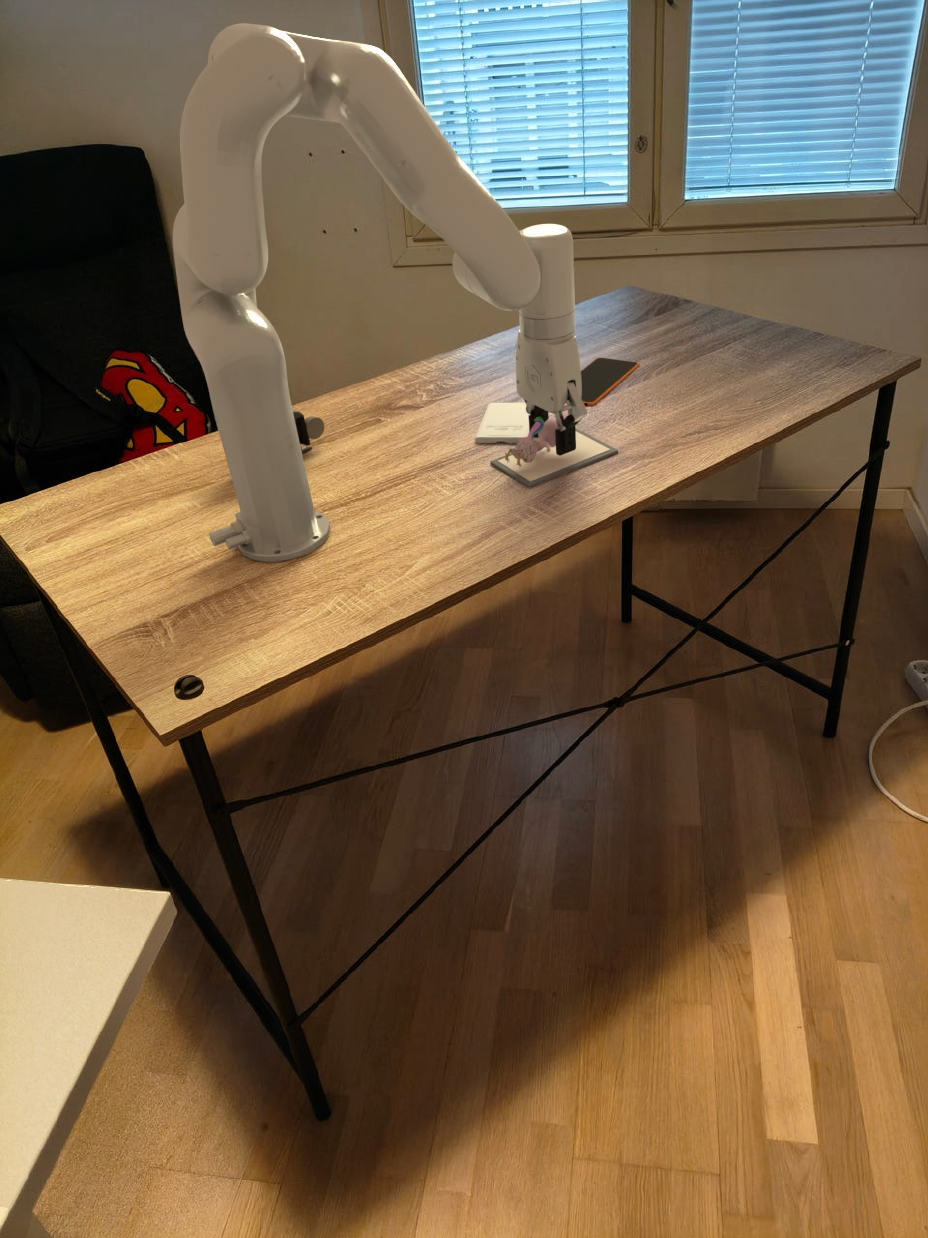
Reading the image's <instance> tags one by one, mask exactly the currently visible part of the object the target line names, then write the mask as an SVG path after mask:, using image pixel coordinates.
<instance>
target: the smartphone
mask: <svg viewBox="0 0 928 1238" xmlns="http://www.w3.org/2000/svg"><path fill="white" fill-rule="evenodd" d="M638 366H640V363H639V362H637V361H632V360H625V359H624V360H622V359H614V358H608V357H607V358H606V357H596V358H595V359H594V360H593V361H591V362H590V363H589V364H587V365H586V366H585V367H584V368H583V369H581V382H582V396H581V399H582V401H583V403H584V405H585V406H586V405H587V407H593V406H595V405H597V404H598V403H599V402H600V401H601V400H603V399H604V397H606V396H607V395H608V394H609V393H610V392H612V390H614V389H615V388H616V387H617V386H618V385H620V384H621V383H622V382H623V381H624V380H625V379H626V378H627V377H629V376H630V375H631V374H632V373H633V372H634V371H636V369H638V368H639V367H638ZM637 367H638V368H637ZM629 374H630V375H629Z"/></svg>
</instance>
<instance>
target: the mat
mask: <svg viewBox="0 0 928 1238" xmlns="http://www.w3.org/2000/svg"><path fill="white" fill-rule="evenodd" d="M546 449H547V448H546V447H544V448H543V449H542V450H541V451H538V452H537V453H536V456H535V458H534V460H533V461H532V462H530V463H526V462H524V461H523V460H522V459H521V460H520V464H521V466H519V465H516V464H517V459H516V458H515V457H514V456H513V454H512V453H510V454H509V456H508V459H509V461H510V462H509V461H508V463H507V460H506V459H505V455H503V456H501V457H497V458H495V459H492V460H490V461H489V462H490V464H491V466H494V467H495V468H497V469H498V470H500V471H502V472H503V473H505V474H507V475H508V476H510V477H511V478H513V479H514V480H515V481H517V482H518V483H520V484H522V485H523V486H526V487H527V488H529V489H530V488H533V487H535V486H538V485H541V484H543V483H545V482H547V481H550V480H553V479H555V478H558V477H560V476H562V475H565V474H568V473H569V472H573V471H575V470H578V469H580V468H582V467H583V468H584V467H587V465H590V464H593V463H595V462H598V461H600V460H603V459H605V458H607V457H610V456H613V455H615V454H619V449H617V448H615V447H613V446H611V445H609V444H607V443H606V442H603V441H601V440H600V439H598V438H596V437H594V436H592V435H590V434H589V433H587V432H585V431H582V430H581V429H579V428H576V449H575V450H574V451H571V452H568V453H566V454H563V455H561V456H559V455H557V454H556V446H555V447H550V452H547V450H546ZM505 460H506V461H505ZM519 467H520V469H519Z"/></svg>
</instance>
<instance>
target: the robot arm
mask: <svg viewBox="0 0 928 1238" xmlns="http://www.w3.org/2000/svg"><path fill="white" fill-rule="evenodd" d="M284 116H287V117H291V118H292V117H294V118H300V119H309V120H315V121H323V122H332V123H338V124H340V125H341V126H343V127H344V128H345V130H346V131H347V132H348V134H349V135H350V137H351V138H352V139H353V140H354V142H355V143H356V145H357V146H358V148H359V149H360V150H361V151H362V152H363V153H364V155H365V156H366V157H367V158H368V161H370V162H371V164H372V166H373V167H374V168H375V170H376V171H377V172H378V173H379V175H380V176H381V178H382V179H383V181H384V182H385V183H386V185H387V187H389V189H390V190H391V192H392V193H393V194H394V195H395V197H396V198H397V200H398V201H399V202H400V203H401V204H402V205H403V206H404V208H405V209H407V210H408V211H409V213H411V214H412V215H413V216H414V217H415V218H416V219H418V220H419V221H420V222H421V223H423V224H424V225H426V226H427V227H429V229H430V230H432V231H433V232H434V233H436V234H437V235H438V236H439V237H440V238H441V239H442V240H443V241H445V243H446V244H447V245H448V246H449V247H450V248H451V249H452V250H453V251H454V253H453V256H452V257H453V258H452V270H453V273H454V277H455V278H456V280H457V281H458V283H459V285H461V286H462V287H463V288H464V289H465V290H467V291H468V292H470V293H472V294H473V295H475V296H477V297H478V298H481V299H482V300H484V301H486V302H487V303H489V304H490V305H491V306H493V307H496V308H497V309H499V310H502V311H506V312H507V311H508V312H513V311H518V317H519V329H518V333H517V338H516V348H515V349H516V350H515V381H516V382H515V385H516V392H517V394H518V396H519V397H520V398H522V399H523V401H524V403H526V412H527V413H528V414H530V415H528V416H529V433H530V430H531V428H532V427H533V425H534V424H535V422H536V421H534V419H535V418H537V417H541V418H542V419H543V421H544V422H545V421H547V420H548V419H550V418H549V416H550V415H549V413H550V414H554V417H555V418H556V422H557V426H558V429H556V430H555V440H556V454H557V455H559V456H561V455H563V454H566V453H568V452H571V451H574V450H575V449H576V427H577V426H579V423H580V422H581V421H582V419H584V418H585V417H586V416H585V415H586V414H587V413H588V410H587V407H586V404H585V405H584V403H583V401H582V399H581V396H582V382H581V370H582V369H581V360H580V352H579V347H578V341H577V337H576V335H575V334H576V300H575V297H576V296H575V267H574V265H575V264H574V261H575V259H574V239H573V234H572V232H571V231H570V229H569V228H567V227H566V226H564V225H561V224H557V223H541V224H535V225H531V226H528V227H524V228H523V229H521V230H519V228H518V227H517V226H516V225H515V223H514V222H513V220H512V219H511V217H510V216H509V215H508V213H507V212H506V211H505V210H504V209H503V207H502V205H501V204H500V203H499V202H498V201H497V199H495V197H494V196H493V195H492V194H491V192H489V191H488V190H487V188H486V187H485V185H483V184H482V182H481V181H480V180H479V178H477V176H476V175H475V173H474V172H473V171H472V170H471V168H470V167H469V166H468V165H467V164H466V163H465V162H464V161H463V160H462V159H461V157H459V155H458V154H457V152H456V150H454V148H453V146H452V145H451V144H450V142H449V141H448V139H447V138H446V137H445V135H444V134H443V132H442V131H441V129H440V128H439V126H438V124H437V123H436V122H435V120H434V119H433V117H432V116H431V114H430V113H429V112H428V110H427V107H425V105H424V104H423V102H422V101H421V99H420V98H419V96H418V95H417V93H416V91H415V90H414V88H413V87H412V86H411V84H410V82H409V81H408V80H407V78H406V77H405V75H404V73H402V70H401V69H400V67H398V66H397V64H396V63H395V62H394V60H393V59H392V57H390V56H389V55H388V54H387V53H386V52H384V51H383V50H382V49H381V48H379V47H378V46H377V47H376V46H373V45H370V44H366V43H360V42H352V41H344V40H337V39H328V38H322V37H321V38H320V37H314V36H310V35H309V36H308V35H305V34H304V35H303V34H298V33H294V32H289V31H283V30H279V29H277V28H275V27H272V26H269V25H263V24H254V23H253V24H252V23H243V22H241V23H236V24H232V25H229V26H226V28H225V27H224V29H223V30H221V31H220V32H218V34H217V35H216V36H215V37H214V38H213V41H212V43H211V45H210V47H209V51H208V57H207V65H206V66H205V67H204V68H203V70H202V71H201V73H200V74H199V75H198V78H197V79H196V80H195V82H194V84H193V86H192V88H191V90H190V92H189V93H188V96H187V99H186V101H185V104H184V108H183V111H182V115H181V120H180V121H181V122H180V130H179V151H180V153H179V155H180V164H181V165H180V167H181V175H182V176H181V178H182V191H183V192H182V193H183V194H182V195H183V202H184V203H183V205H182V206H181V207H180V208H179V210H178V212H177V213H176V215H175V219H174V221H173V226H172V249H173V250H172V251H173V258H174V267H175V273H176V281H177V290H178V298H179V304H180V312H181V319H182V324H183V330H184V332H185V336H186V339H187V341H188V343H189V345H190V347H191V349H192V350H193V352H194V354H195V356H196V358H197V360H198V361H199V363H200V365H201V367H202V372H203V374H204V376H205V380H206V383H207V388H208V392H209V393H208V394H209V398H210V402H211V407H212V411H213V415H214V420H215V422H216V423H215V424H216V427H217V430H218V434H219V437H220V442H221V444H222V447H223V452H224V456H225V459H226V462H227V465H228V470H229V473H230V477H231V481H232V484H233V489H234V491H235V496H236V501H237V503H238V507H239V510H240V511H237V512H235V513H234V516H235V520H234V521H232V522H230V525H229V526H226V527H223V528H219V529H216V530H213V531H211V532H210V531H209V533H208V536H209V539H210V541H211V543H212V545H213V546H214V547H217V546H220V545H223V544H225V545H226V547H227V549H228V550H231V549H234V548H237V547H238V550H239V552H240V554H242V555H243V556H244V557H247V558H248V559H251V560H254V561H258V562H264V563H265V562H267V563H268V562H270V563H271V562H272V563H274V562H284V561H289V560H293V559H298V558H301V557H302V556H305V555H308V554H310V553H311V552H313V551H315V550H316V549H318V548H319V547H320V546H322V545H323V544H324V543H325V541H327V539H328V537H329V536H330V532H331V528H330V522H329V519H328V517H327V515H324V513H322V512H320V511H318V510H315V507H314V503H313V497H312V495H311V489H310V485H309V480H308V475H307V472H306V471H307V470H306V466H305V462H304V456H303V453H302V452H301V447H302V446H301V447H300V442H299V438H298V433H297V429H296V424H295V420H294V415H293V407H292V401H291V396H290V395H291V394H290V389H289V384H288V375H287V363H286V357H285V353H284V348H283V345H282V342H281V339H280V338H279V335H278V332H277V331H276V329H275V328H274V326H273V325H272V323H271V322H270V320H269V319H268V317H266V315H265V314H263V312H262V311H261V310H260V309H259V308H258V304H257V295H256V294H257V292H256V291H257V290H256V288H257V287H258V286H259V285H260V284H261V282H262V281H263V279H264V277H265V275H266V272H267V270H268V265H269V264H268V262H269V246H268V238H267V231H266V229H267V228H266V221H265V207H264V197H263V196H264V195H263V178H262V174H263V173H262V172H263V171H262V169H263V168H262V166H263V165H262V164H263V163H262V161H263V158H262V157H263V150H264V145H265V141H266V140H267V136H268V135H269V133H270V131H271V130H272V128H273V127H274V125H275V124H276V123H277V122H278V121H279V120H280V119H281V118H282V117H284ZM566 410H567V411H568V416H567V417H566V418H565V419H564V418H563V414H562V412H563V411H566ZM587 415H588V414H587ZM584 416H585V417H584ZM581 418H582V419H581ZM580 420H581V421H580ZM579 421H580V422H579ZM578 422H579V423H578ZM533 437H534V438H539V436H538V433H537V434H535V435H534V436H533Z"/></svg>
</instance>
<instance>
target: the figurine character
mask: <svg viewBox="0 0 928 1238" xmlns="http://www.w3.org/2000/svg"><path fill="white" fill-rule="evenodd" d="M292 410H293V409H292ZM293 415H294V420H295V424H296V429H297V433H298V438H299V442H300V444H301V445H300V447H301V452H302V454H303V453H305V452H308V451H310V450H312V449H313V446H310V445H311V441H310V440H318V439H319V438H320V437H321V436H322V435H323V433H324V431H325V422H324V420H323V419H321V418H320V417H317V416H313V415H311V416H307V417H306V418H305V416H304V414H303V413H302V412H301V411H298V410H293ZM302 445H304V446H307V447H305V448H302Z"/></svg>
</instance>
